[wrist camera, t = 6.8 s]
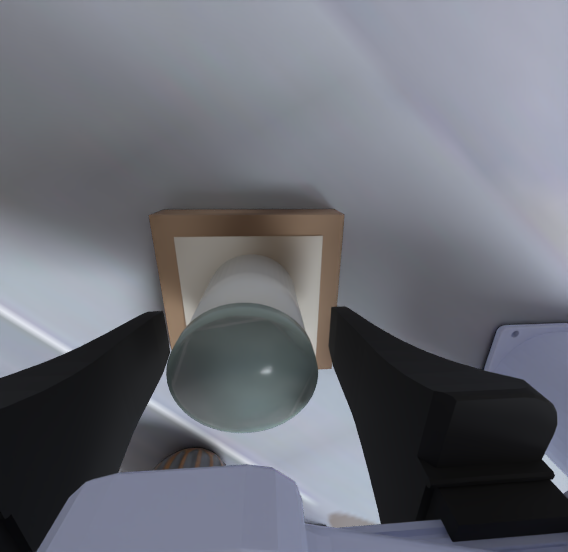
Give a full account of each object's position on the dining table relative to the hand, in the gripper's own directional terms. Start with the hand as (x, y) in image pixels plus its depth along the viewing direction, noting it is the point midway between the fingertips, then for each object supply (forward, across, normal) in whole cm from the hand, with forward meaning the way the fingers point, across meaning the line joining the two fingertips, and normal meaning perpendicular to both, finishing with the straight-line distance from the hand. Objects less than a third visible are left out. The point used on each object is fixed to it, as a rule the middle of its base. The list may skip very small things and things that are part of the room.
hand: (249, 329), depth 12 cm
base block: (+5, 0, 0) cm, 5 cm away
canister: (+2, 0, 0) cm, 3 cm away
